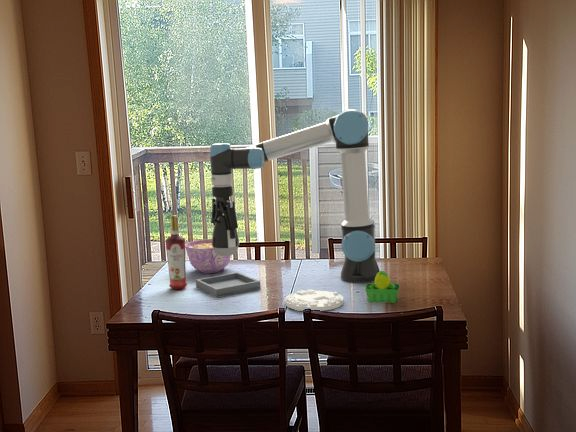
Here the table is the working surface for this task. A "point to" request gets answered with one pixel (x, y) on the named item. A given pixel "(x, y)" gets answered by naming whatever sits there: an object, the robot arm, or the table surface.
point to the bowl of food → (205, 256)
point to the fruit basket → (382, 289)
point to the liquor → (176, 257)
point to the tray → (228, 284)
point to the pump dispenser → (223, 238)
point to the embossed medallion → (314, 300)
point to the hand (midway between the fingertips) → (225, 244)
